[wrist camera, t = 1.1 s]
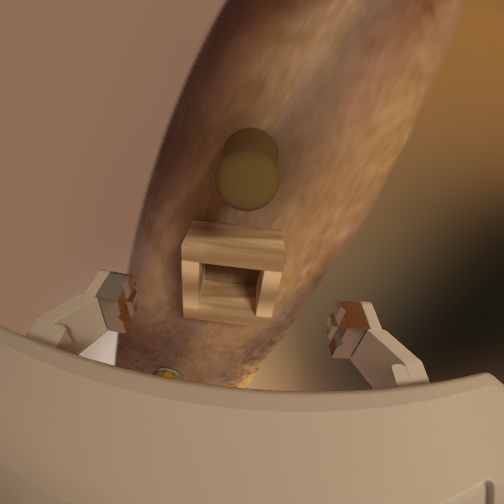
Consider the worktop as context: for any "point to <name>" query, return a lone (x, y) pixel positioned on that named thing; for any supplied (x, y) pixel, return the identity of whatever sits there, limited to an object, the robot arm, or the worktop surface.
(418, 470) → the robot arm
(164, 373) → the supplement bottle
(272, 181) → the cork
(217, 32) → the worktop surface
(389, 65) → the worktop surface
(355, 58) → the worktop surface
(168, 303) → the worktop surface
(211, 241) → the shaker holder
